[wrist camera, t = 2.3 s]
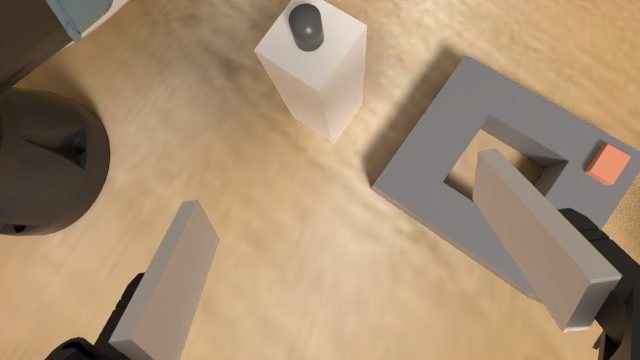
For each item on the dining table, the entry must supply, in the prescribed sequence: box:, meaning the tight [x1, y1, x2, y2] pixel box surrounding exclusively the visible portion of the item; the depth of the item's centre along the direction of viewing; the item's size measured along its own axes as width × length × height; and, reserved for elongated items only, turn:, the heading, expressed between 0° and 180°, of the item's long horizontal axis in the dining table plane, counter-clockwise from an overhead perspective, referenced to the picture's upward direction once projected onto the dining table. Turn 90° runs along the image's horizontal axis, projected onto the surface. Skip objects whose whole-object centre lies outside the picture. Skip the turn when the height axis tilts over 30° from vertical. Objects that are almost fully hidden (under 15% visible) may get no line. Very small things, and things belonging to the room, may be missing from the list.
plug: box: [254, 0, 367, 144], centre depth 23 cm, size 5×5×14 cm
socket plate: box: [372, 55, 640, 304], centre depth 26 cm, size 16×14×4 cm
